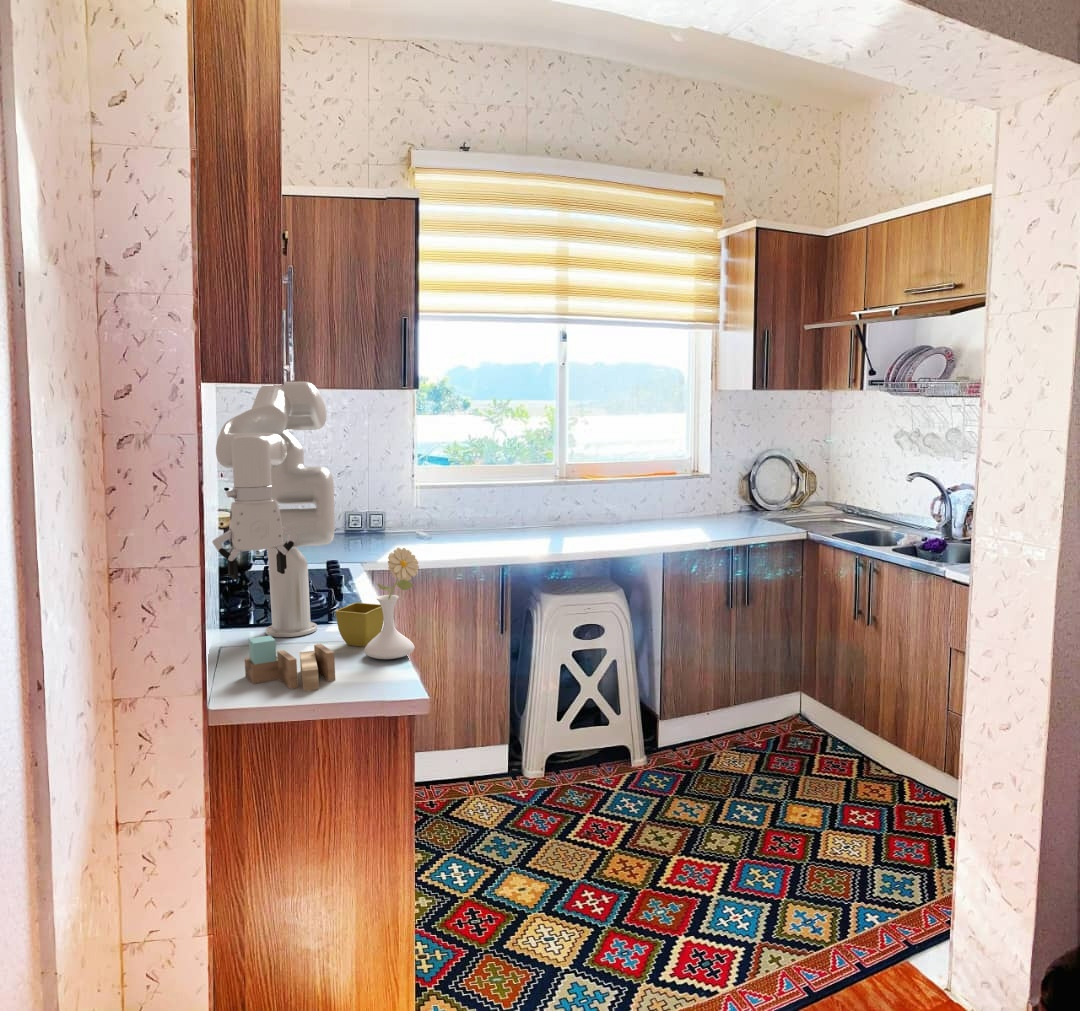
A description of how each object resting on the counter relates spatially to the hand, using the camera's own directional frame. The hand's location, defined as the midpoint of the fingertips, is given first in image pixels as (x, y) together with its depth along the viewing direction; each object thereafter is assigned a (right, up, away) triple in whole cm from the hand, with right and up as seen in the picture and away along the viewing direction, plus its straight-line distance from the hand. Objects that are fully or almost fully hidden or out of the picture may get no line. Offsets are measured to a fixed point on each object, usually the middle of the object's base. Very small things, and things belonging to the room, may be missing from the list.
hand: (258, 575), depth 180 cm
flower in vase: (+26, -20, +17) cm, 37 cm away
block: (+1, -18, +1) cm, 18 cm away
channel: (+10, -22, 0) cm, 24 cm away
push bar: (+11, -22, 0) cm, 25 cm away
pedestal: (0, -22, +2) cm, 22 cm away
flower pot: (+16, -19, +27) cm, 37 cm away
